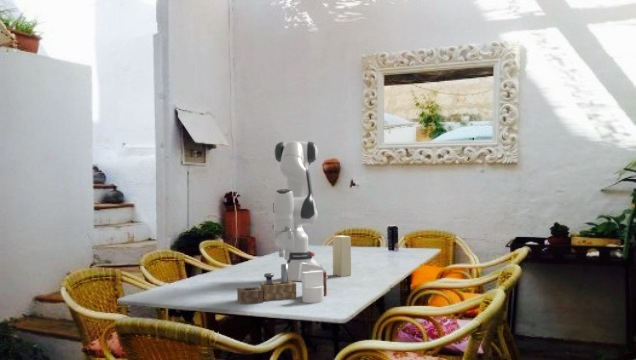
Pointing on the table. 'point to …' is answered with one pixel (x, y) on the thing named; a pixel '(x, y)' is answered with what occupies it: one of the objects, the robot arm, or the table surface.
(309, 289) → the cylinder with rectangular tab
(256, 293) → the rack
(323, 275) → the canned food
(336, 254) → the tall beige block
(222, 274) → the table surface
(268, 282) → the grey headed bolt
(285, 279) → the grey peg
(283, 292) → the socket block
